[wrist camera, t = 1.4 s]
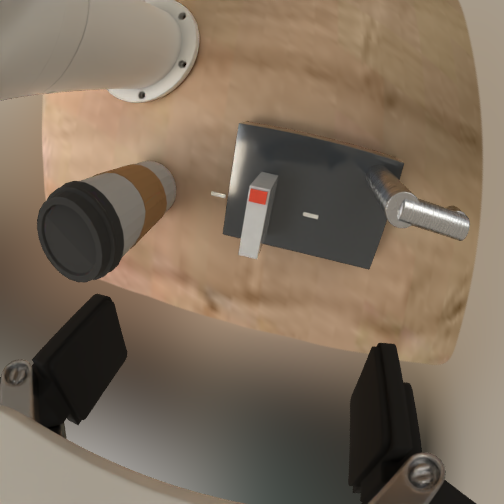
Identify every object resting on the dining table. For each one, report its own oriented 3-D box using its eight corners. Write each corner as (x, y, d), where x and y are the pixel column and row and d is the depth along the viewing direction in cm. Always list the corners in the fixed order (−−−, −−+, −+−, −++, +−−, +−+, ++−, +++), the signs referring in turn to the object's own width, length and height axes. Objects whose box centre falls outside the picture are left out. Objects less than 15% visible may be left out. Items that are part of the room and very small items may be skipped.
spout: (362, 186, 26) (381, 225, 18) (369, 161, 25) (393, 188, 17) (427, 206, 25) (466, 251, 17) (435, 182, 24) (479, 219, 16)
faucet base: (217, 218, 34) (206, 231, 31) (231, 118, 29) (221, 120, 26) (365, 253, 33) (369, 270, 29) (395, 156, 27) (404, 163, 24)
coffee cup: (148, 136, 31) (51, 166, 18) (201, 186, 33) (126, 246, 20) (113, 188, 35) (24, 238, 22) (159, 234, 37) (85, 305, 24)
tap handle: (266, 235, 30) (256, 261, 25) (250, 231, 30) (237, 256, 26) (278, 175, 27) (270, 190, 23) (261, 171, 27) (249, 185, 23)
